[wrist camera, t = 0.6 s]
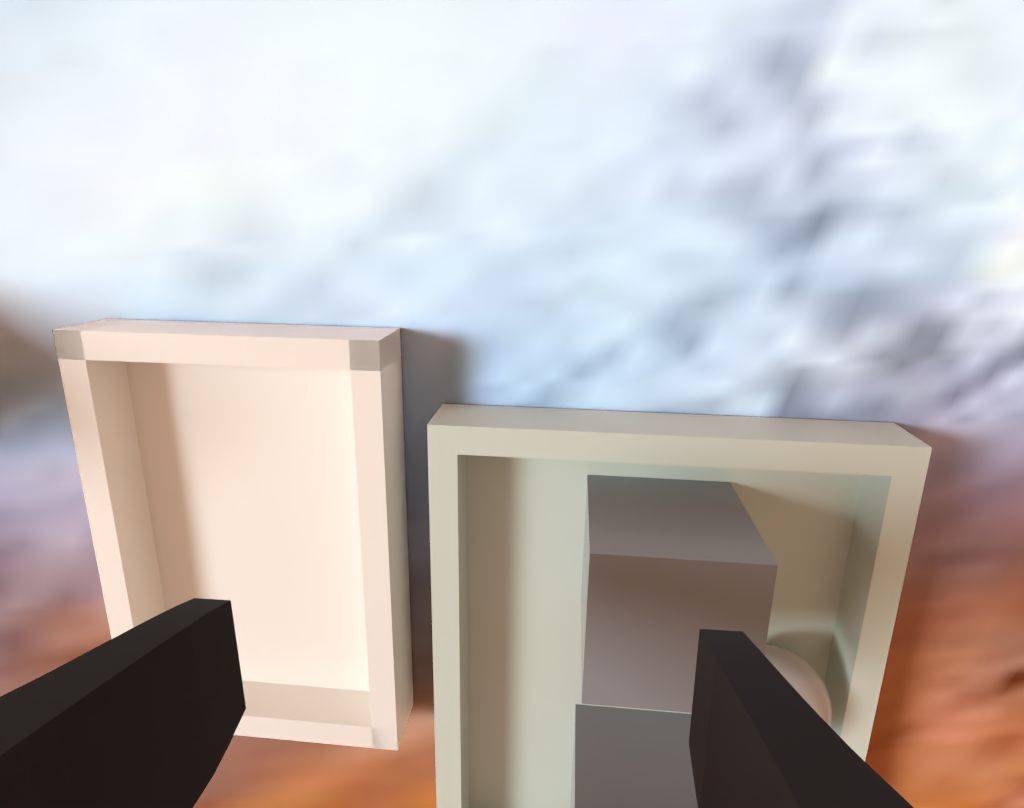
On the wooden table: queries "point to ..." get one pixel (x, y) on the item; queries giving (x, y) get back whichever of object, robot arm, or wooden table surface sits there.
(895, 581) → the bin
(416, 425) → the wooden table surface
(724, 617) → the grey cube
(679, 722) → the grey cube
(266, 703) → the dish
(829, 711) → the pale pink ball
